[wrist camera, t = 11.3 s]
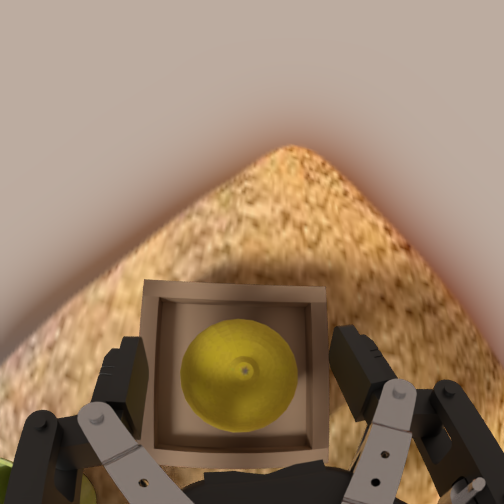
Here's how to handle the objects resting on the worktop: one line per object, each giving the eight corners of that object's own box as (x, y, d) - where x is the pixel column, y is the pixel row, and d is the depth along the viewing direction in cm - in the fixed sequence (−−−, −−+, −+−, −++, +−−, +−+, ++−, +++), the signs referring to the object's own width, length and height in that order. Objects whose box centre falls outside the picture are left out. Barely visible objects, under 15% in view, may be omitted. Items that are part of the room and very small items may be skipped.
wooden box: (158, 438, 21) (137, 462, 14) (162, 305, 25) (144, 279, 18) (297, 440, 22) (328, 462, 15) (296, 310, 26) (325, 286, 20)
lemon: (270, 431, 17) (303, 454, 10) (179, 411, 17) (151, 422, 10) (288, 346, 19) (329, 315, 12) (201, 326, 19) (189, 282, 12)
